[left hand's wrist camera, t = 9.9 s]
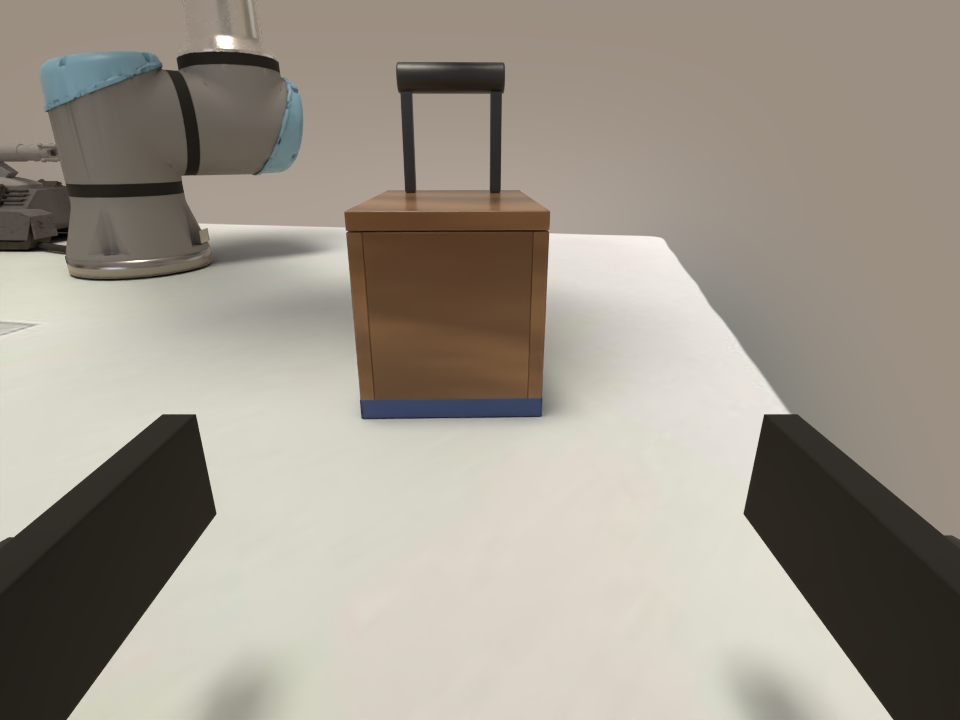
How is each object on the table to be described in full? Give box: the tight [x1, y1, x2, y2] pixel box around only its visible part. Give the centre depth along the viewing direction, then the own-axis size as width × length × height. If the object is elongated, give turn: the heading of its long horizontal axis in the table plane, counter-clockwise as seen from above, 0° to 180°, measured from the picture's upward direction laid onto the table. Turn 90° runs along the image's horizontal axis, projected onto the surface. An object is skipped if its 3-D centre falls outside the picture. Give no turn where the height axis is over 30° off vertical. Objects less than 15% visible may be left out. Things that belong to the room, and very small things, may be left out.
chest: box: [346, 230, 549, 418], centre depth 34 cm, size 15×10×10 cm, turn 2°
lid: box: [345, 62, 550, 231], centre depth 31 cm, size 15×10×9 cm, turn 1°
